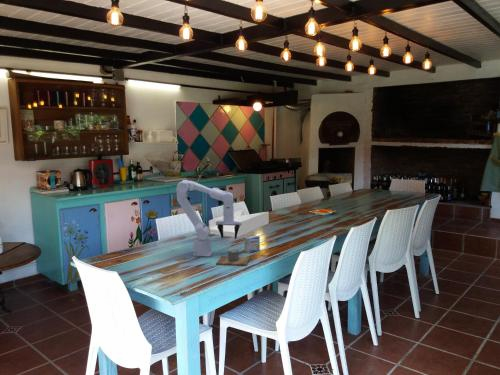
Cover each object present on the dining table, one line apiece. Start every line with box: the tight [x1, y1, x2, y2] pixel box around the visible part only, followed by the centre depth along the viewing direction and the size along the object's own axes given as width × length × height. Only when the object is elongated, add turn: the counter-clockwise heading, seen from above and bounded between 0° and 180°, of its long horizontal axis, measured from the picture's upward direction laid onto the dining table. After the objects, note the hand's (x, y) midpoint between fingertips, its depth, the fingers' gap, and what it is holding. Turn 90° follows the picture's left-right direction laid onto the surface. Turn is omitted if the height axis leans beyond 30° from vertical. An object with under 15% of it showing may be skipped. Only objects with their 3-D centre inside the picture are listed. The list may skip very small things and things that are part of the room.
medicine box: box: [243, 234, 261, 254], centre depth 233 cm, size 8×4×9 cm, turn 126°
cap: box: [227, 248, 240, 262], centre depth 215 cm, size 5×5×6 cm
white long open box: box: [208, 208, 270, 238], centre depth 289 cm, size 45×22×10 cm, turn 149°
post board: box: [215, 255, 251, 267], centre depth 215 cm, size 16×12×5 cm
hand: (229, 237), depth 228 cm, fingers open, 7 cm apart
